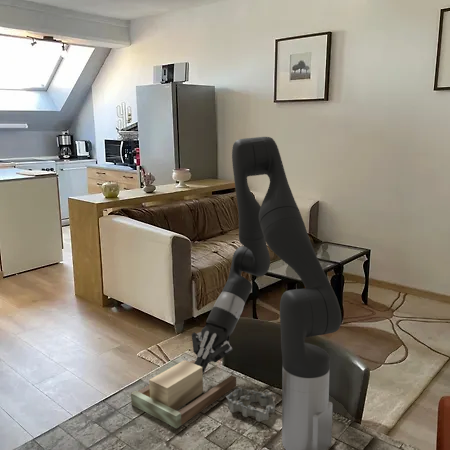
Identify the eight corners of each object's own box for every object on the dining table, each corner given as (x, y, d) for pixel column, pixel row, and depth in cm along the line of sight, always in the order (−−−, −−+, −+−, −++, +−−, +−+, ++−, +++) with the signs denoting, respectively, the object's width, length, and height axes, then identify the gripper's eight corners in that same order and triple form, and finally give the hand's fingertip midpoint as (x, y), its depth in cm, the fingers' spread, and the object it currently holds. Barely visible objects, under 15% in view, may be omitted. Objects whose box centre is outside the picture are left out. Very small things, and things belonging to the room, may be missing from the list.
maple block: (203, 392, 114) (202, 367, 113) (168, 416, 105) (167, 388, 103) (185, 385, 118) (184, 359, 116) (150, 406, 109) (149, 379, 107)
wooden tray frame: (236, 386, 116) (236, 375, 116) (176, 428, 100) (176, 416, 99) (192, 368, 126) (192, 358, 125) (131, 404, 109) (130, 393, 109)
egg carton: (279, 409, 107) (279, 393, 106) (262, 426, 101) (263, 409, 100) (240, 395, 113) (240, 380, 112) (223, 410, 107) (223, 394, 106)
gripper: (200, 300, 124) (169, 360, 117) (239, 312, 116) (209, 376, 109) (213, 313, 129) (184, 371, 122) (252, 324, 121) (223, 387, 114)
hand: (196, 373), depth 115 cm, fingers closed
